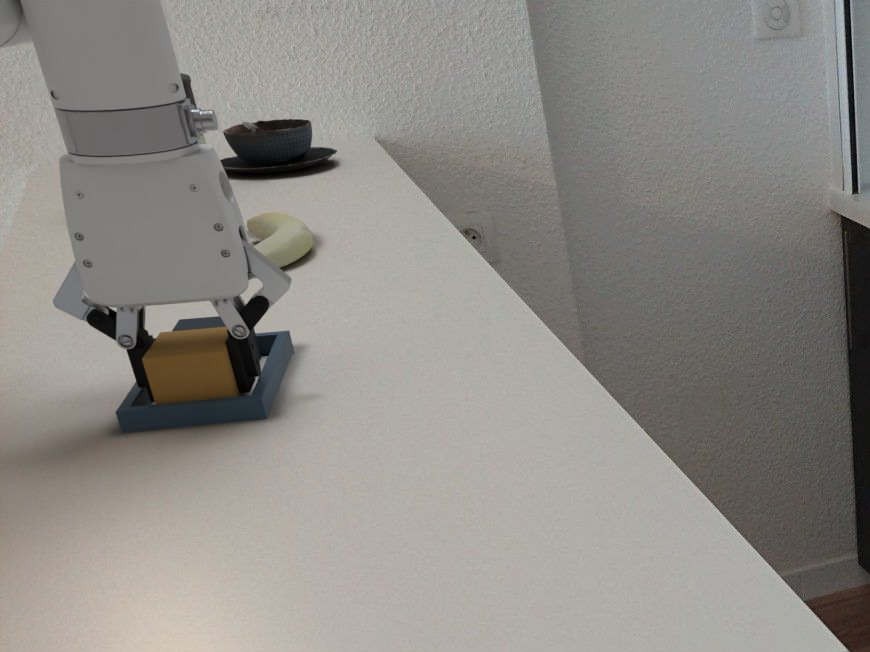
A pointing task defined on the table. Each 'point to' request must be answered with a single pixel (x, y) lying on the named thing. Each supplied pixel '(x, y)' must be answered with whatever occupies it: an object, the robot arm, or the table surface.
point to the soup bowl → (273, 146)
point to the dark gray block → (208, 323)
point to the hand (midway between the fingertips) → (203, 388)
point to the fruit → (281, 237)
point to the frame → (145, 416)
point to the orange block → (190, 366)
